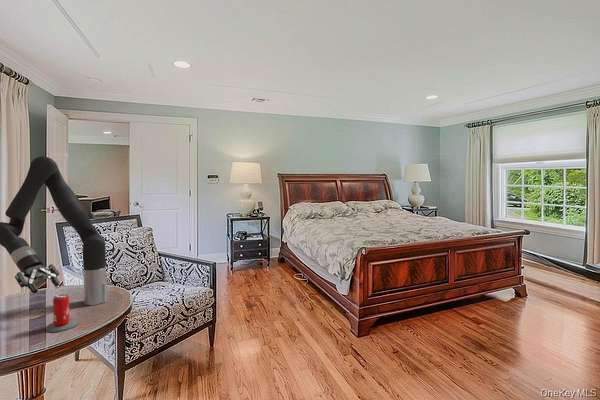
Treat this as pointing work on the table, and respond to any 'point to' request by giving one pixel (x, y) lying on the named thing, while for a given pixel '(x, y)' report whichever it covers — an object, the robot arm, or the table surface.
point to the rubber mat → (71, 324)
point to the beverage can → (61, 310)
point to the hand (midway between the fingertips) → (47, 288)
